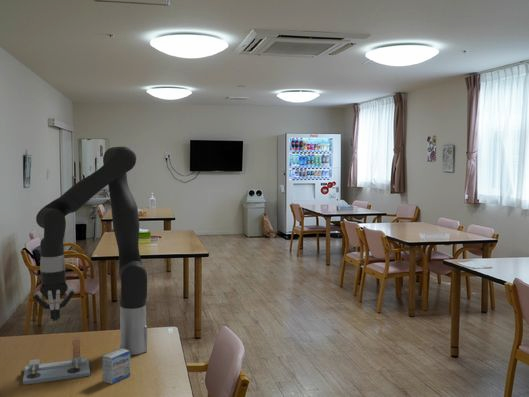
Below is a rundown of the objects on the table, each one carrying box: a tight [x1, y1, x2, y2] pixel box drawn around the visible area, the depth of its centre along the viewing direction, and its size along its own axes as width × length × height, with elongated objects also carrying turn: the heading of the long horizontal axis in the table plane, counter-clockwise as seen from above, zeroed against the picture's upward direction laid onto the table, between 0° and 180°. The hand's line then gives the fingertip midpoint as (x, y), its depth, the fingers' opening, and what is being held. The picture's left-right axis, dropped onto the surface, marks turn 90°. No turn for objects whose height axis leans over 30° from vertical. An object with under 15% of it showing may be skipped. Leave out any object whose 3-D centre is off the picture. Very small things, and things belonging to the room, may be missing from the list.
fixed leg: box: [28, 358, 41, 376], centre depth 167 cm, size 3×7×2 cm, turn 21°
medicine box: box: [101, 348, 131, 385], centre depth 166 cm, size 8×4×9 cm, turn 148°
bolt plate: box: [22, 358, 91, 386], centre depth 170 cm, size 20×12×2 cm, turn 111°
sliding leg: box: [71, 336, 82, 370], centre depth 172 cm, size 3×7×9 cm, turn 21°
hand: (55, 320), depth 170 cm, fingers closed
